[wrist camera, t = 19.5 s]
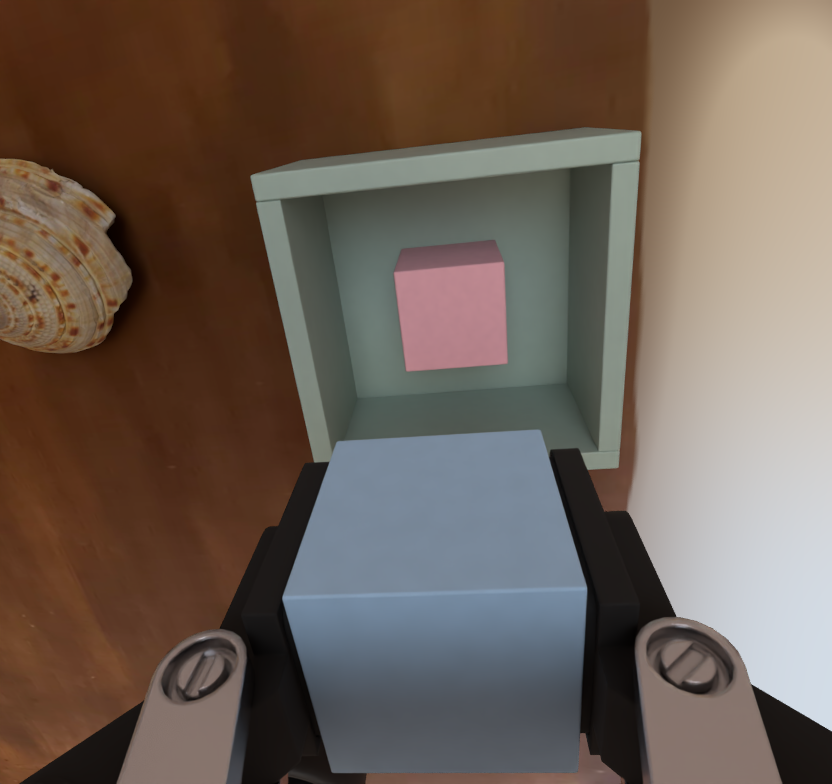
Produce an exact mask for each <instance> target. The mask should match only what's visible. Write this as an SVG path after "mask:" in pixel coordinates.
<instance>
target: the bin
mask: <svg viewBox="0 0 832 784" xmlns="http://www.w3.org/2000/svg"><path fill="white" fill-rule="evenodd" d="M640 147H641V132H640V131H633V130H618V129H604V128H590V127H585V128H577V129H568V130H559V131H551V132H542V133H533V134H524V135H516V136H507V137H498V138H490V139H481V140H472V141H463V142H455V143H446V144H437V145H429V146H420V147H411V148H403V149H394V150H385V151H376V152H368V153H359V154H350V155H342V156H333V157H324V158H315V159H307V160H300V161H297V162H294V163H290V164H287V165H284V166H280V167H277V168H273V169H270V170H266V171H263V172H260V173H256V174H253V175H251V182H252V187H253V191H254V196H255V200H256V201H257V203H256V206H257V211H258V215H259V219H260V224H261V228H262V233H263V237H264V242H265V246H266V250H267V255H268V259H269V264H270V268H271V273H272V277H273V281H274V286H275V290H276V295H277V299H278V304H279V308H280V313H281V317H282V321H283V326H284V330H285V335H286V339H287V344H288V348H289V352H290V357H291V361H292V366H293V370H294V375H295V379H296V383H297V388H298V392H299V397H300V401H301V406H302V410H303V414H304V419H305V423H306V428H307V432H308V437H309V441H310V446H311V450H312V454H313V459H314V462H330V459H331V456H332V453H333V451H334V448H335V445H336V442H338V441H349V440H366V439H383V438H400V437H417V436H434V435H451V434H468V433H485V432H503V431H520V430H537V429H539V430H541V433H542V436H543V440H544V443H545V446H546V450H547V453H548V457H549V454H550V450H551V449H567V448H579V450H580V452H581V455H582V457H583V460H584V462H585V465H586V467H587V470H591V469H608V468H618V466H619V453H620V451H619V449H620V440H621V425H622V411H623V396H624V382H625V367H626V353H627V338H628V324H629V309H630V295H631V280H632V266H633V251H634V237H635V222H636V208H637V193H638V179H639V164H640V163H639V161H637V160H639V158H640ZM487 240H495V241H496V244H497V246H498V249H499V251H500V253H501V256H502V258H503V261H504V264H505V293H506V322H507V350H508V363H507V364H500V365H487V366H474V367H462V368H449V369H436V370H423V371H410V372H407V371H406V370H405V362H404V354H403V346H402V338H401V330H400V322H399V314H398V306H397V298H396V290H395V282H394V274H393V273H394V270H395V267H396V264H397V261H398V258H399V255H400V252H401V249H405V248H415V247H426V246H436V245H446V244H456V243H466V242H477V241H487Z"/></svg>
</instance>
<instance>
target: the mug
mask: <svg viewBox="0 0 832 784" xmlns="http://www.w3.org/2000/svg"><path fill="white" fill-rule="evenodd" d="M365 781H366V773H333V772H332V771H331V768H330V764H329V761H328V757H327V754H326V750H325V747H324V743H323V740H321V745H320V749H319V754H318V756H302V757H301V761H300V763H299V764H298V765H296V766H295V767H294V768H293V769H292V770H291V771H289V772H288V784H365Z"/></svg>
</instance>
